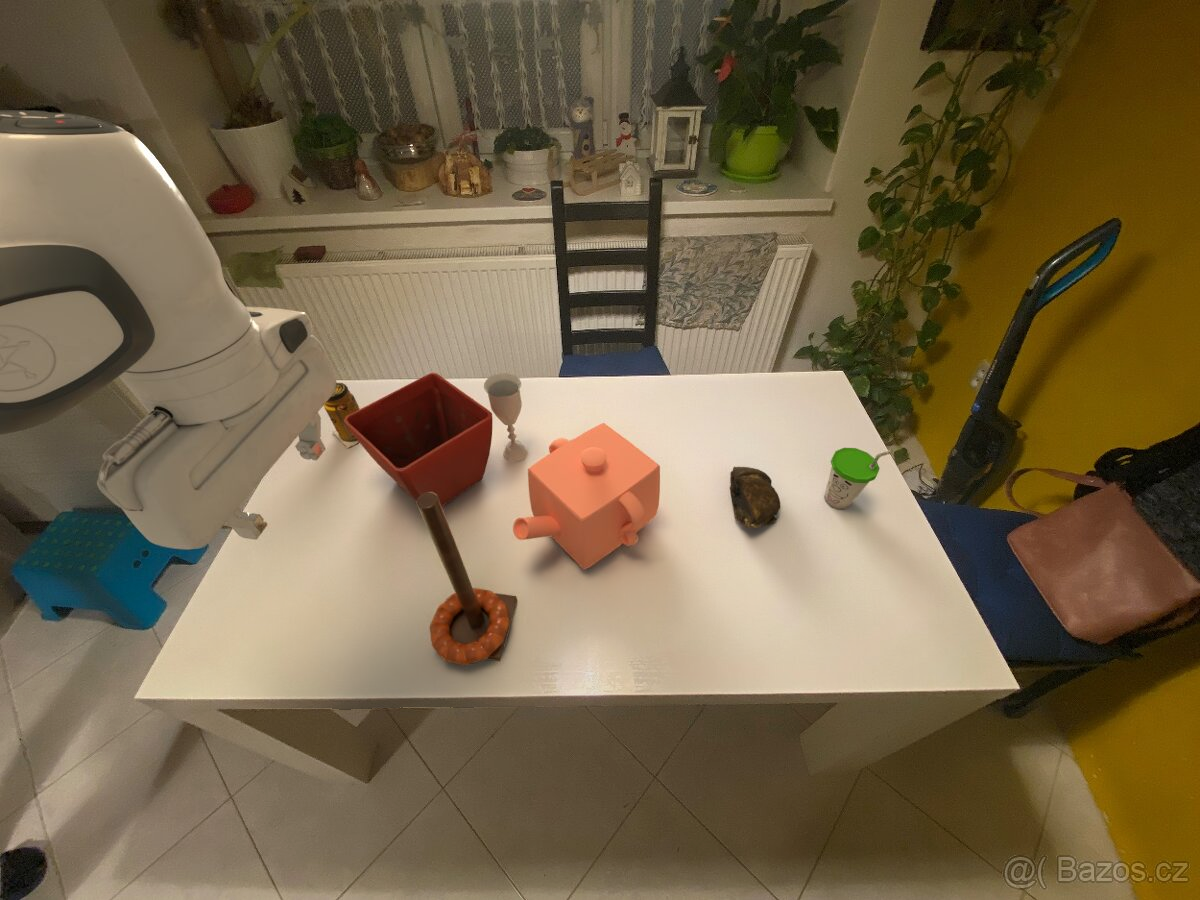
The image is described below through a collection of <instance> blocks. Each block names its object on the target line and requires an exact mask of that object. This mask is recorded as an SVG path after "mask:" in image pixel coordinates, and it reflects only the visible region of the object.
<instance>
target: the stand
mask: <svg viewBox="0 0 1200 900" xmlns="http://www.w3.org/2000/svg"><path fill="white" fill-rule="evenodd" d="M415 502H416V501H415ZM416 506H417V509H418V511H419V513H420V515H421V517H422V520H423V523H424V524H425V526H426V529H427V531H428V534H429V536H430V538H431V540H432V543H433V545H434V547H435V550H436V552H437V554H438V557H439V559H440V561H441V563H442V566H443V568H444V571H445V572H446V575H447V576H448V579H449V582H450V584H451V586H452V588H453V591H454V593H456V595H457V598H458V600H459V602H460V604H461V607H462V609H463V610H461V611H460V612H459V613H458V614H457V615H456V616H455V617H454V618H453V620H452V622H451V625H450V627H449V628H450V635H451V637H452V638H453V639H454V640H455V641H456V642H460V643H465V644H468V643H471V642H474V641H477V640H479V639H480V638H481V637H482V636H483V635H484V634H485V633H486V632H487V630H488V627H489V624H490V619H489V614H488V613H487V612H486V611H485V610H484V609H483V608H480V605H479V603H478V600H477V598H476V595H475V592H474V590H473V588H474V587H473V584H472V582H471V579H470V577H469V574H468V572H467V569H466V567H465V564H464V561H463V559H462V556H461V553H460V551H459V549H458V546H457V543H456V540H455V538H454V535H453V532H452V530H451V527H450V525H449V523H448V519H447V517H446V514H445V512H444V509H443V506H441V504H440V501H439V498H438V496H437V495H436V494H435V493H433V492H427V493H424V494H422V495H420V496H419V497H418V499H417V502H416ZM493 593H494V594H496V595H497V596H498V597H499V598H500V599H501V600H502V601H503V602H504V603H505V605H506V609H507V613H508V617H509V626H508V629H507V632H506V635H505V638H504V641H503V643H502V644H501V645H500V646H499V647H498V648H497V649H496V650H495V651H494V652H493V653H492V654H491V655H490V656H489V657H487V658H486V659H485V660H489V661H495V662H501V660H502V657H503V654H504V649H505V646H506V642H507V639H508V636H509V631H510V628H511V625H512V621H513V617H514V614H515V611H516V607H517V603H518V598H517V595H511V594H505V593H504V594H503V593H497V592H493ZM435 651H436V650H435ZM436 653H437V651H436Z"/></svg>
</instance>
